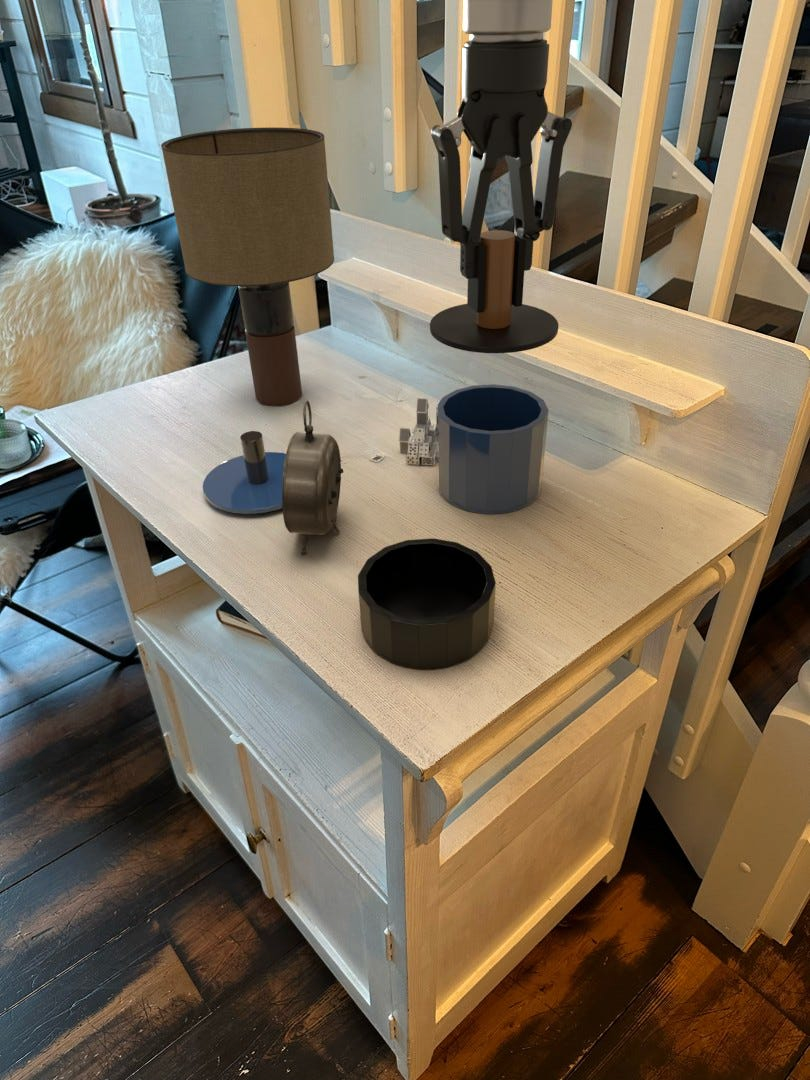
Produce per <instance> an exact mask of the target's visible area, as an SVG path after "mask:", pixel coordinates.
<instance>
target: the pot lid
mask: <svg viewBox="0 0 810 1080" xmlns="http://www.w3.org/2000/svg"><path fill="white" fill-rule="evenodd" d="M239 440H240V445H241V450H242V455H239V456H236V457H232V458H230V459H228V460H226V461H223V462H221V463H220V464H218V465H216V466H215V467H214V468H212V469H211V470H210V471H209V472H208V473H207V474H206V476H205V478H204V479H203V482H202V493H203V495H204V498H205V499H206V501H207V502H208V503H209V504H210V505H212V506H213V507H214V508H216V509H219V510H221V511H224V512H227V513H233V514H240V515H254V514H263V513H268V512H269V513H270V512H273V511H277V510H280V509H281V510H282V509H283V508H282V479H283V469H284V463H285V457H286V452H285V453H284V452H278V451H266V449H265V443H264V437H263V434H262V432H261V431H258V430H249V431H246V432H243V433H242V434H241V435H240V439H239Z"/></svg>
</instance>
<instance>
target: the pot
mask: <svg viewBox="0 0 810 1080" xmlns="http://www.w3.org/2000/svg"><path fill="white" fill-rule="evenodd" d="M435 407H436V409H435V410H436V412H435V415H436V416H435V417H436V424H437V454H436V483H437V490H438V493H439V495H440V496H441V497H442V498H443V499H444V500H445V501H446V502H447V503H448V504H450V505H452V506H453V507H455V508H458V509H461V510H463V511H467V512H470V513H475V514H484V515H500V514H507V513H512V512H515V511H519V510H522V509H524V508H526V507H528V506H529V505H531V504H532V503H534V502H535V501H536V500H537V498H538V497H539V495H540V493H541V490H542V489H541V488H542V485H543V476H544V475H543V474H544V465H545V455H546V445H547V444H546V442H547V431H548V420H549V408H548V405H547V404H546V401H545V399H543V398H542V397H540V396H538V395H537V394H536V393H534V392H532V391H530V390H527V389H523V388H520V387H516V386H512V385H511V386H510V385H503V384H492V383H491V384H475V385H469V386H466V387H462V388H458V389H455V390H453V391H451V392H449V393H448V394H446V395H443V397H441V399H440V400H439V402H438V404H437V405H436V406H435Z"/></svg>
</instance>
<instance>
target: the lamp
mask: <svg viewBox="0 0 810 1080" xmlns="http://www.w3.org/2000/svg"><path fill="white" fill-rule="evenodd" d="M160 147H161V153H162V157H163V162H164V166H165V171H166V172H165V173H166V177H167V183H168V189H169V192H170V198H171V204H172V207H173V213H174V218H175V223H176V228H177V232H178V239H179V243H180V249H181V254H182V260H183V263H184V270H185V274H186V275H187V276H188V277H189V278H190V279H193V280H195V281H197V282H200V283H204V284H208V285H213V286H219V287H220V286H221V287H222V286H223V287H237V289H238V295H239V301H240V307H241V308H240V309H241V312H242V321H243V325H244V329H245V330H244V333H245V339H246V345H247V352H248V358H249V365H250V372H251V377H252V383H253V389H254V395H255V399H256V401H257V402H258V403H259V404H261V405H265V406H270V407H281V406H286V405H291V404H292V403H295V402H297V401H299V400H300V399H301V397H302V396H303V395H302V394H303V389H302V381H301V371H300V363H299V355H298V347H297V338H296V337H297V336H296V329H295V322H294V321H295V320H294V312H293V304H292V295H291V288H290V287H291V286H290V283H291V282H295V281H299V280H303V279H307V278H310V277H313V276H315V275H318V274H320V273H323V272H324V271H326V270H327V269H329V268H330V267H331V266H332V265H333V264H334V262H335V252H334V241H333V239H334V238H333V227H332V216H331V215H332V214H331V203H330V190H329V180H328V179H329V178H328V177H329V176H328V166H327V155H326V141H325V135H324V133H322V132H320V131H317V130H313V129H306V128H298V127H244V128H229V129H217V130H210V131H203V132H197V133H190V134H185V135H180V136H177V137H174V138H170V139H167V140H165V141H163V142H162V143H161V145H160Z"/></svg>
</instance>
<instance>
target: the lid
mask: <svg viewBox="0 0 810 1080" xmlns="http://www.w3.org/2000/svg"><path fill="white" fill-rule="evenodd" d="M516 236H517V234H516V233H514V232H513V231H511V230H502V229H501V230H500V229H493V230H485V231H483V232H482V231H481V235H480V240H479V242H480V243H482V244H484V245H485V246H487V248H486V276H485V304H484V312H479V313H477V312H476V311H475V310H474V309H472V308H471V307H470V306H469V305H467V303H463V304H458V305H454V306H451V307H448V308H445V309H443V310H441V311H439V312H437V313H436V314H435V315H434V316H433V317H432V318H431V320H430V322H429V332H430V334H431V336H432V337H433V338H434V339H435V340H436V341H437V342H439V343H440V344H443V345H445V346H447V347H450V348H453V349H456V350H460V351H465V352H471V353H479V354H509V353H510V354H511V353H520V352H525V351H531V350H533V349H536V348H540V347H543V346H545V345H547V344H548V343H550V342H551V341H553V340H554V339H555V338H556V337H557V336H558V333H559V327H560V325H559V321H558V319H557V318H556V317H555V316H554V315H553V314H552V313H549V312H548V311H546V310H544V309H542V308H539V307H536V306H532V305H528V304H525V303H524V304H523V303H522V306H518V307H515V306H514V305H512V292H513V273H514V255H515V237H516Z"/></svg>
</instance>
